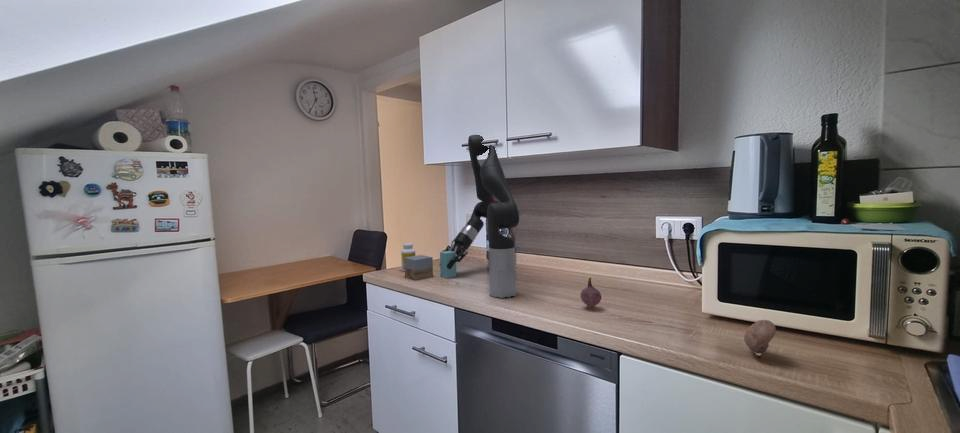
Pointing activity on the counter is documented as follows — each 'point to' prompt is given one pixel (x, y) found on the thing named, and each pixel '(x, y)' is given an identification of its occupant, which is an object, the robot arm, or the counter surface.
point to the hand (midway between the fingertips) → (444, 266)
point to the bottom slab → (419, 274)
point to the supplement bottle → (407, 253)
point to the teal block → (444, 261)
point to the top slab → (418, 262)
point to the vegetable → (590, 295)
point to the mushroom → (759, 335)
